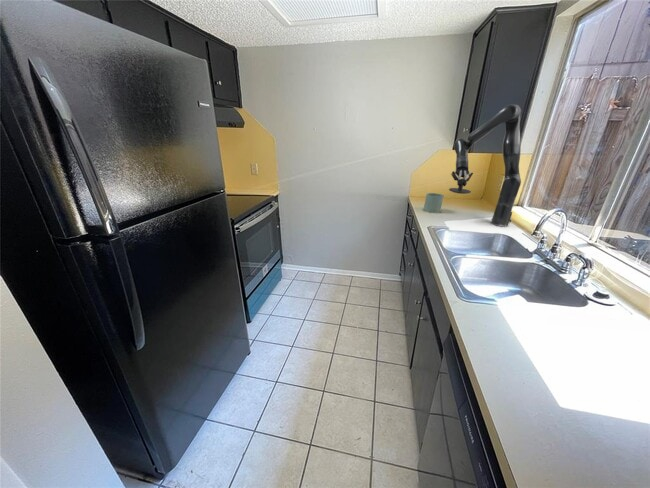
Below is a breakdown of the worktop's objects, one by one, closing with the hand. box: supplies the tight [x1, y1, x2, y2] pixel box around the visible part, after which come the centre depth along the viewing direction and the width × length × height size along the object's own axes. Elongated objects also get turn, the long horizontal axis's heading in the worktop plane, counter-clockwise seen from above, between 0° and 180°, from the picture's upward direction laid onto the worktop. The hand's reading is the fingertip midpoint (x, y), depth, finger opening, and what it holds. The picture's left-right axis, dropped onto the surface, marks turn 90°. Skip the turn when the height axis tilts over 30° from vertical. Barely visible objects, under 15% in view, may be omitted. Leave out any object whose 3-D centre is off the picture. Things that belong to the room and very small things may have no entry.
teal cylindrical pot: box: [423, 192, 445, 214], centre depth 201 cm, size 12×12×12 cm
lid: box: [448, 178, 472, 195], centre depth 172 cm, size 13×13×9 cm
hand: (462, 185), depth 170 cm, fingers closed on lid, 2 cm apart
